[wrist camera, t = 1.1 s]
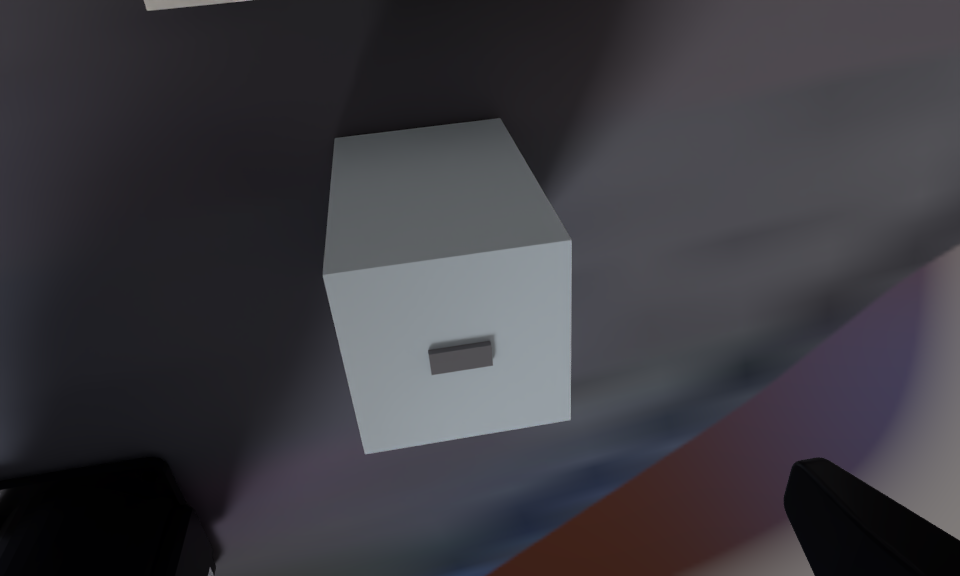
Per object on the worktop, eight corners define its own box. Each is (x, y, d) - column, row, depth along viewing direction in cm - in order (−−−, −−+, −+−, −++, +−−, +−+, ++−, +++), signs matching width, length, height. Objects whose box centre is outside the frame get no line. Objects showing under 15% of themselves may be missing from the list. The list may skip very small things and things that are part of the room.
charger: (362, 280, 19) (365, 460, 13) (334, 137, 17) (322, 279, 11) (507, 259, 20) (572, 424, 14) (500, 118, 17) (573, 243, 12)
